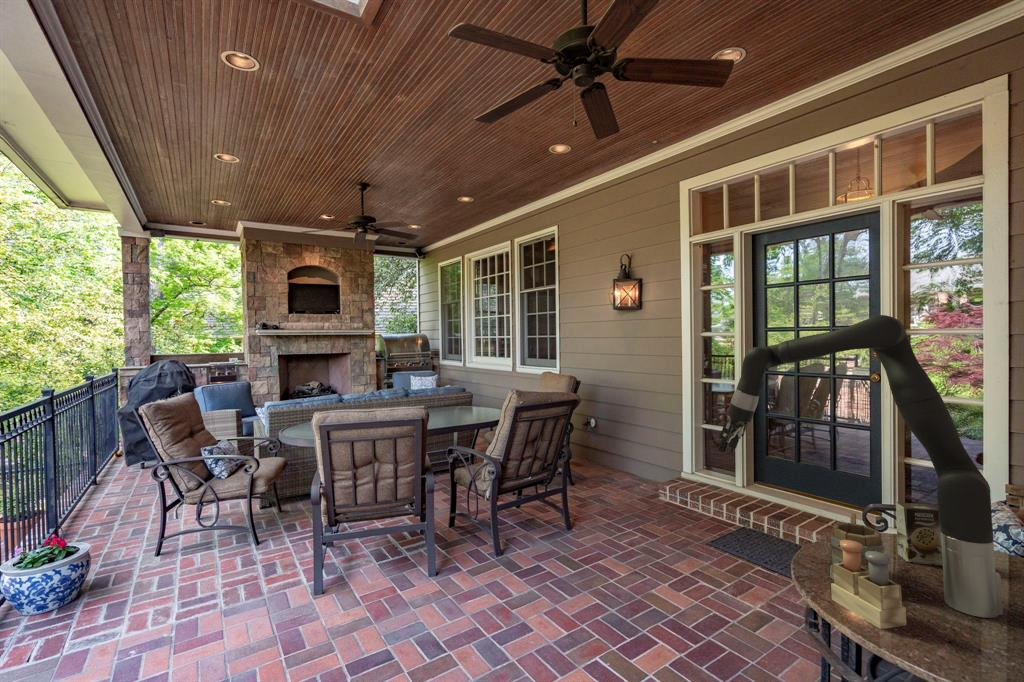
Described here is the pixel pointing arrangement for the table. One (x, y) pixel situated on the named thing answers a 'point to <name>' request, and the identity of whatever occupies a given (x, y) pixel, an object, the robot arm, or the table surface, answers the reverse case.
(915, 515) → the coffee box
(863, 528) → the tankard
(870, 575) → the grey mushroom plug
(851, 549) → the terracotta plug
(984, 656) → the table surface
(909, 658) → the table surface
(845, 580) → the frame
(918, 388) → the robot arm
